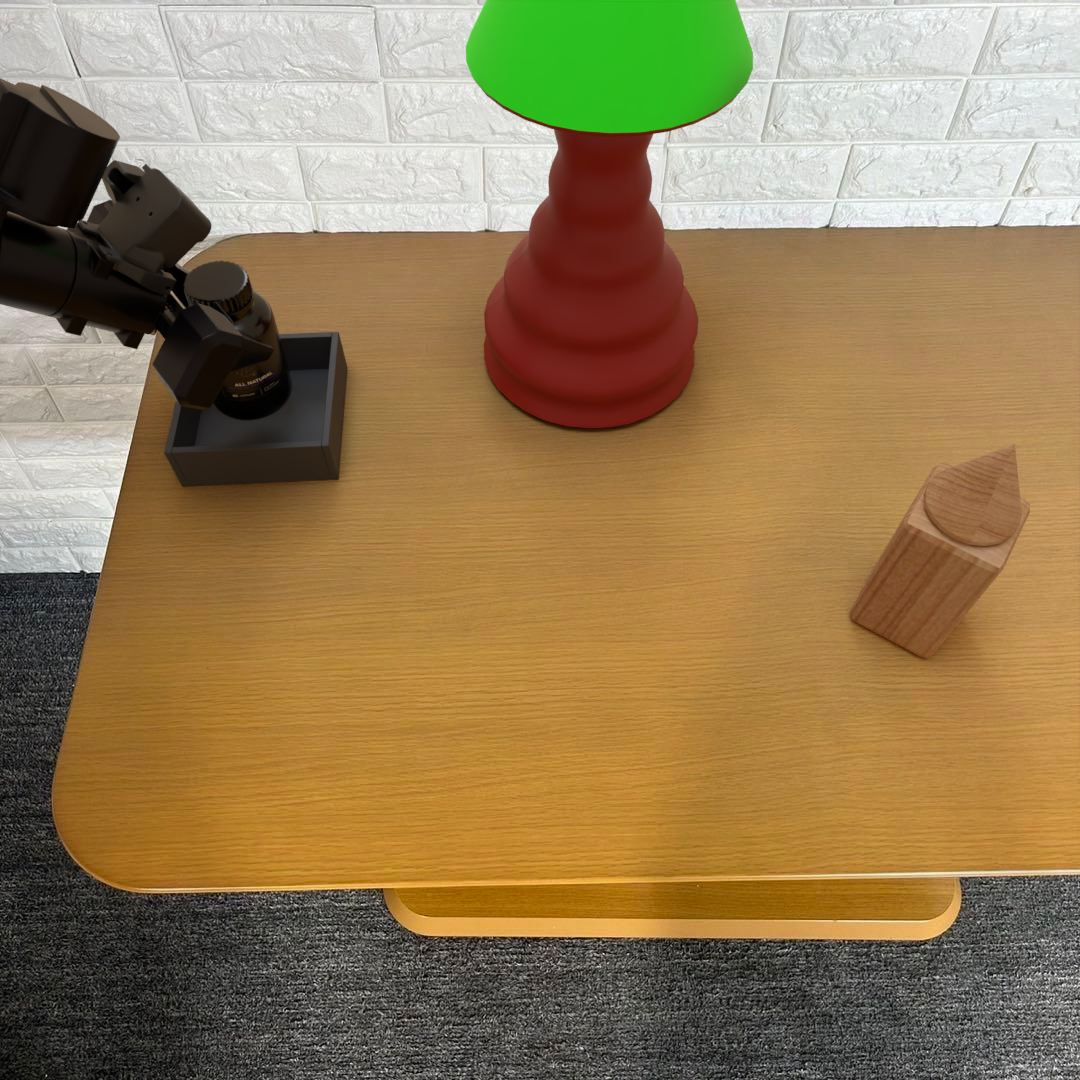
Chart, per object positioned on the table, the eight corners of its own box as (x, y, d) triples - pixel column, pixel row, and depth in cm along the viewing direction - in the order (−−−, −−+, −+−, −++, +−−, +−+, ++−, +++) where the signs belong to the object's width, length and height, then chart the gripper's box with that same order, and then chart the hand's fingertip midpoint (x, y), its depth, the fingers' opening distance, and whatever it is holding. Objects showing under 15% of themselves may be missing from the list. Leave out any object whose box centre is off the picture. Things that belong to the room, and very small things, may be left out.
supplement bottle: (264, 434, 74) (223, 323, 64) (196, 407, 76) (146, 295, 66) (310, 379, 77) (278, 266, 68) (245, 355, 79) (204, 241, 69)
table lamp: (491, 279, 91) (459, -325, 53) (687, 285, 90) (795, -320, 53) (476, 429, 80) (423, -200, 42) (700, 436, 79) (846, -192, 42)
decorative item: (878, 560, 72) (980, 386, 56) (958, 600, 70) (1089, 433, 54) (844, 619, 69) (942, 455, 52) (927, 664, 67) (1056, 508, 50)
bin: (182, 486, 76) (163, 453, 72) (204, 373, 83) (189, 337, 80) (338, 479, 77) (328, 445, 73) (347, 367, 84) (338, 331, 80)
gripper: (168, 237, 52) (361, 306, 65) (45, 95, 60) (239, 182, 73) (91, 394, 55) (289, 429, 68) (-15, 240, 64) (180, 298, 77)
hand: (249, 328), depth 71 cm, fingers closed on supplement bottle, 7 cm apart
